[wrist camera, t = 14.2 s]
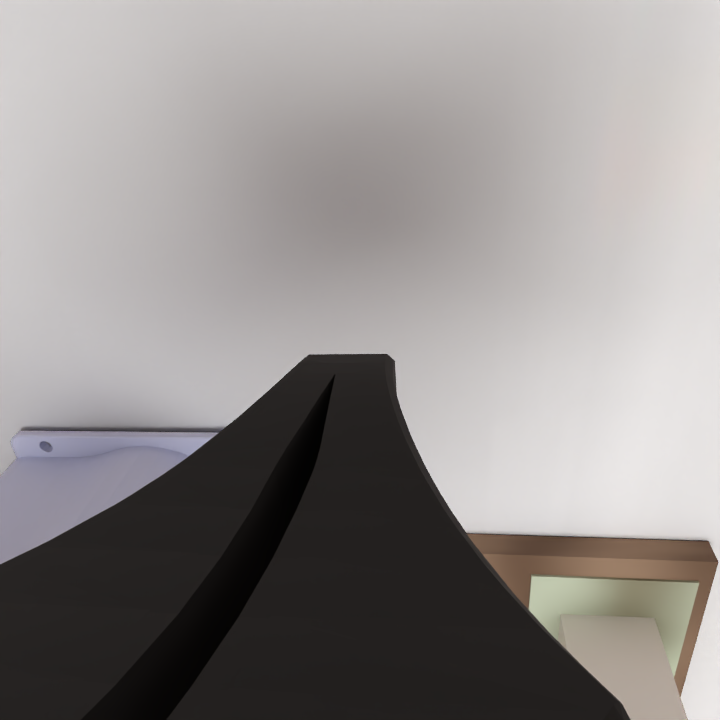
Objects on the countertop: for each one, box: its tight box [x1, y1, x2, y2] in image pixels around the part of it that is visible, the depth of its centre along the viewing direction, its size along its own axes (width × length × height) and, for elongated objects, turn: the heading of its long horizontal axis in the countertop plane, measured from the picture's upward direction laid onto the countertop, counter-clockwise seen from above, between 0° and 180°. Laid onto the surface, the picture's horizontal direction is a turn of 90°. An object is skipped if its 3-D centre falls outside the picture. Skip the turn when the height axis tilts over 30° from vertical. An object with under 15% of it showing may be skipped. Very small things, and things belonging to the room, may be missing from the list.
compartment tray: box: [467, 534, 718, 696], centre depth 28 cm, size 14×17×3 cm
